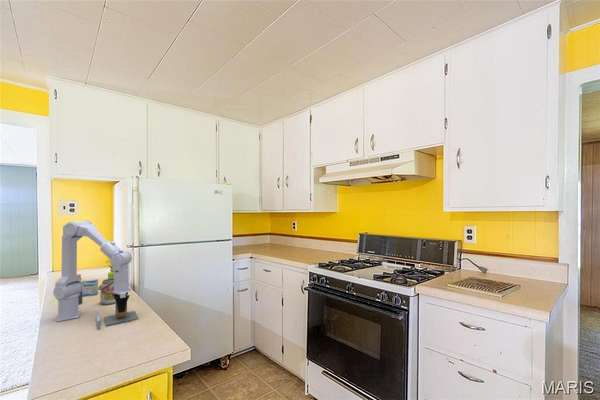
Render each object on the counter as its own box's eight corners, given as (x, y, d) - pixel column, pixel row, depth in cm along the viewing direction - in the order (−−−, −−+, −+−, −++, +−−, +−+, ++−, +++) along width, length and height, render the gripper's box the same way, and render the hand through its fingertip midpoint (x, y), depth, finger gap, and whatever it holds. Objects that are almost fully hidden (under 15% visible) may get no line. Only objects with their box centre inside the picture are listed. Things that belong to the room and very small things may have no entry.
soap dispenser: (109, 294, 169) (109, 259, 169) (122, 293, 169) (122, 259, 170) (103, 297, 163) (103, 261, 163) (116, 296, 163) (116, 260, 164)
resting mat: (104, 318, 130) (104, 316, 130) (134, 312, 137) (134, 310, 138) (105, 326, 121) (105, 325, 121) (138, 319, 128) (138, 318, 128)
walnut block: (115, 315, 130) (115, 301, 130) (125, 313, 132) (125, 299, 132) (116, 317, 126) (116, 303, 127) (127, 315, 129) (126, 301, 129)
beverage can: (98, 307, 146) (98, 283, 146) (97, 303, 153) (97, 280, 153) (120, 303, 152) (120, 279, 152) (117, 299, 158) (117, 277, 159)
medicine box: (79, 297, 164) (79, 281, 164) (81, 295, 168) (81, 280, 168) (96, 295, 167) (96, 280, 168) (98, 293, 171) (98, 278, 172)
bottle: (74, 306, 148) (74, 276, 148) (65, 306, 149) (65, 276, 149) (85, 302, 153) (85, 274, 154) (76, 302, 155) (76, 273, 155)
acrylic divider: (96, 318, 130) (96, 310, 130) (98, 317, 131) (98, 310, 131) (97, 330, 117) (97, 321, 117) (100, 329, 118) (100, 320, 118)
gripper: (133, 281, 126) (133, 313, 126) (129, 275, 138) (129, 304, 137) (114, 284, 122) (114, 316, 122) (111, 278, 134) (111, 307, 133)
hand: (121, 310), depth 129 cm, fingers closed on walnut block, 4 cm apart
